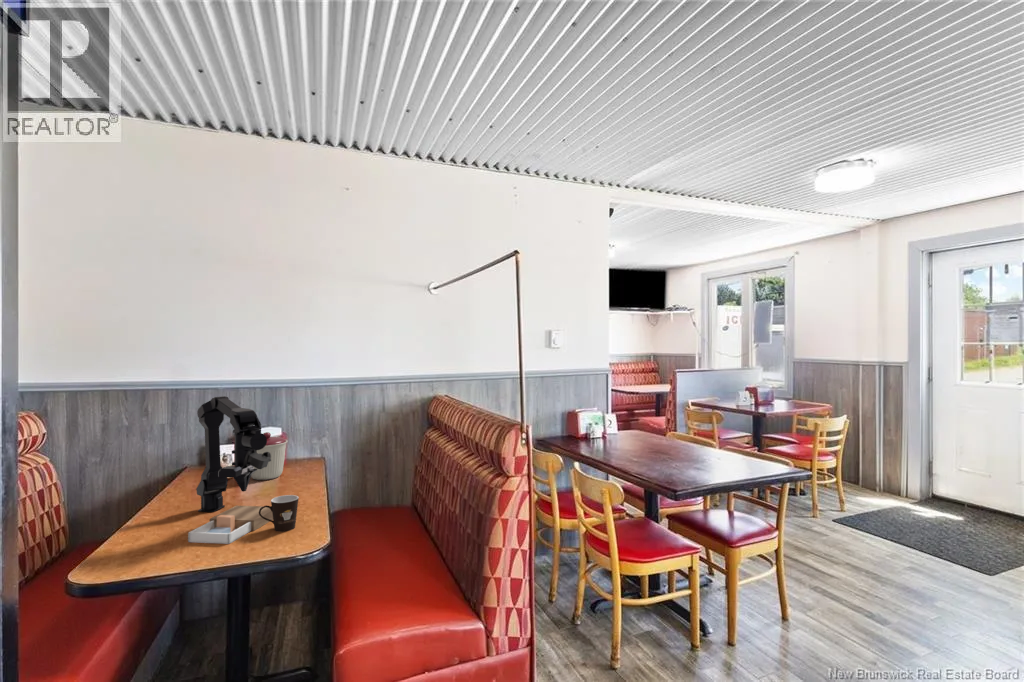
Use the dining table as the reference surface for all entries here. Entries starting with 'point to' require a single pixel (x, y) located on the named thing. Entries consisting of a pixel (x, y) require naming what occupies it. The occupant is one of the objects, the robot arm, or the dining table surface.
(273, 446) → the canister
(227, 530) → the slate tile
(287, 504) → the coffee mug
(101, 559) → the dining table surface
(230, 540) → the tray
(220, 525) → the terracotta tile
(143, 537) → the dining table surface
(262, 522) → the walnut board
